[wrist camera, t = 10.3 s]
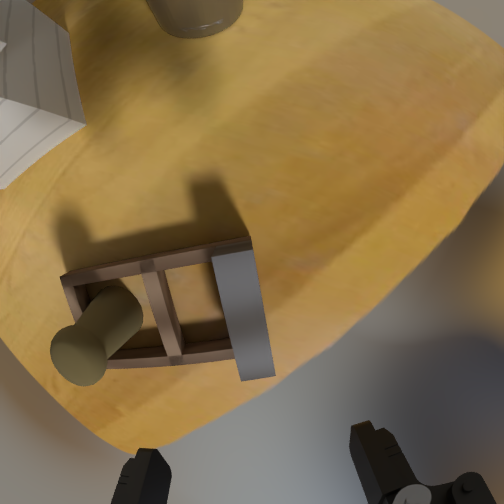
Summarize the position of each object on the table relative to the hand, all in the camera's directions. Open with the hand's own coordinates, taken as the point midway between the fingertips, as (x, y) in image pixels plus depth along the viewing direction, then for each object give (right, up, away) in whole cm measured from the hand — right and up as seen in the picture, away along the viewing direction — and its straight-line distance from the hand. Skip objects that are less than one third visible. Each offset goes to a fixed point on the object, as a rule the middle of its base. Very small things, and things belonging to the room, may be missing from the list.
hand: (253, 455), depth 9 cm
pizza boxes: (-32, +23, +13) cm, 41 cm away
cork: (-15, +2, +19) cm, 24 cm away
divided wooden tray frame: (-9, +3, +18) cm, 21 cm away
